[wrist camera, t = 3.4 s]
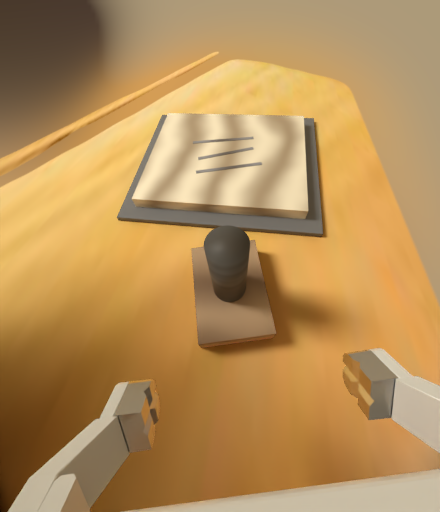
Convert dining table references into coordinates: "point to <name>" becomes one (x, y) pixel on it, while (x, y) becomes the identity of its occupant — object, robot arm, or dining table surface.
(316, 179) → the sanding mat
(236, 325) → the sanding block
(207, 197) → the board
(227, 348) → the dining table surface
